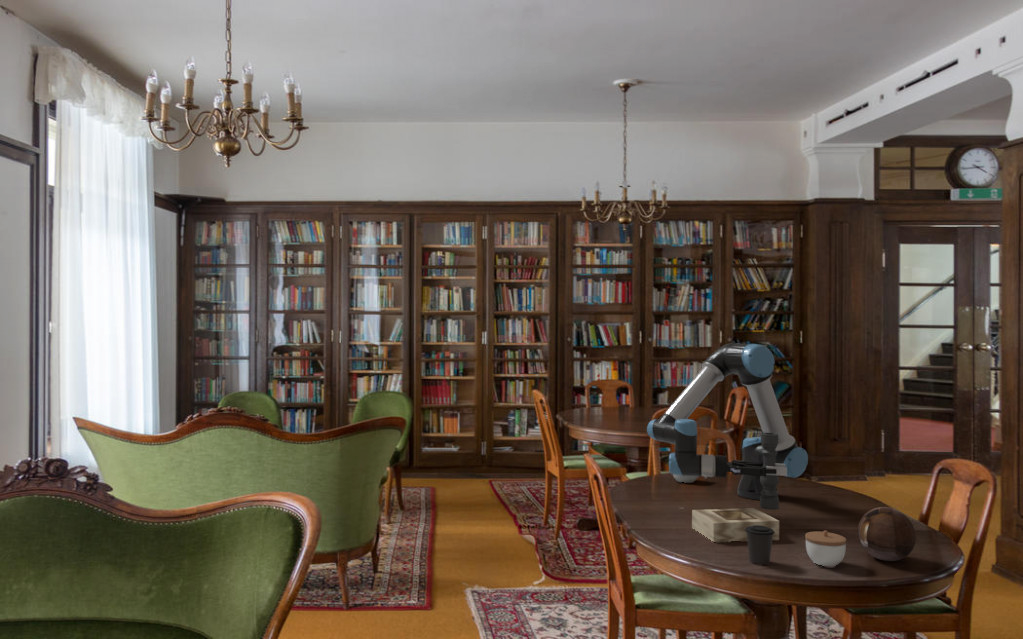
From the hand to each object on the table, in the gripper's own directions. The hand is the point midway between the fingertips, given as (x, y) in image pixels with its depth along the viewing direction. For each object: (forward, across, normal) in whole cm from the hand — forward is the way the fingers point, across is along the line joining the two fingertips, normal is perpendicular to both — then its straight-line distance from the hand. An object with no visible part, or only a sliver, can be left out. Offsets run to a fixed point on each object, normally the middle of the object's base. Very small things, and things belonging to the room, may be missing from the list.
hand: (785, 469), depth 248 cm
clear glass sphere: (+25, +30, -19) cm, 43 cm away
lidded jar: (+7, +40, -18) cm, 44 cm away
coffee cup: (-11, +44, -18) cm, 48 cm away
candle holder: (-5, 0, -13) cm, 14 cm away
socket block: (-17, +16, -18) cm, 30 cm away
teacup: (-33, -59, -19) cm, 70 cm away
